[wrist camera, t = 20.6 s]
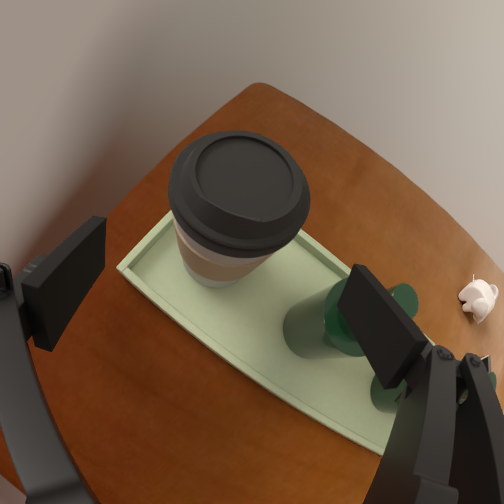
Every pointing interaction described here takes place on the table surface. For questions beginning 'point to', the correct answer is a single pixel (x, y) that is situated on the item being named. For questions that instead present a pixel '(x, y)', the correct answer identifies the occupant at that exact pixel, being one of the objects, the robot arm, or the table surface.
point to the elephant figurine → (478, 298)
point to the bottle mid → (332, 323)
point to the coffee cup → (234, 204)
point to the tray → (265, 328)
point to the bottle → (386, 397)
